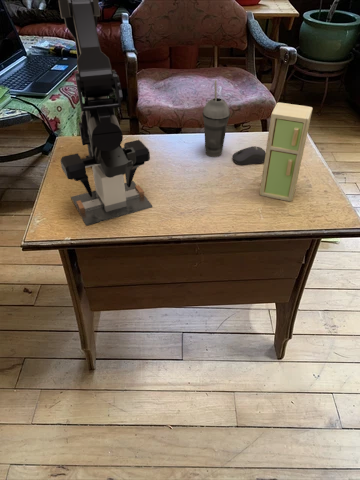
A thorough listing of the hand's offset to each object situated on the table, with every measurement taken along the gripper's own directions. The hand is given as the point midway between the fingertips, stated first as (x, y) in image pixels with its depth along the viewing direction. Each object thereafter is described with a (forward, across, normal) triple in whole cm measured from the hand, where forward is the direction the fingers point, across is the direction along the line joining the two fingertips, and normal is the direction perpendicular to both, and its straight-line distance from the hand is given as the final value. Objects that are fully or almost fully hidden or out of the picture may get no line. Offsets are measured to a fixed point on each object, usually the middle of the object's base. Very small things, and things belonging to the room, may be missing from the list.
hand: (110, 191), depth 95 cm
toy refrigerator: (+4, +38, -14) cm, 41 cm away
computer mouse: (+4, +41, +2) cm, 41 cm away
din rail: (+3, 0, 0) cm, 3 cm away
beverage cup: (+3, +34, +10) cm, 36 cm away
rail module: (+3, 0, 0) cm, 3 cm away
